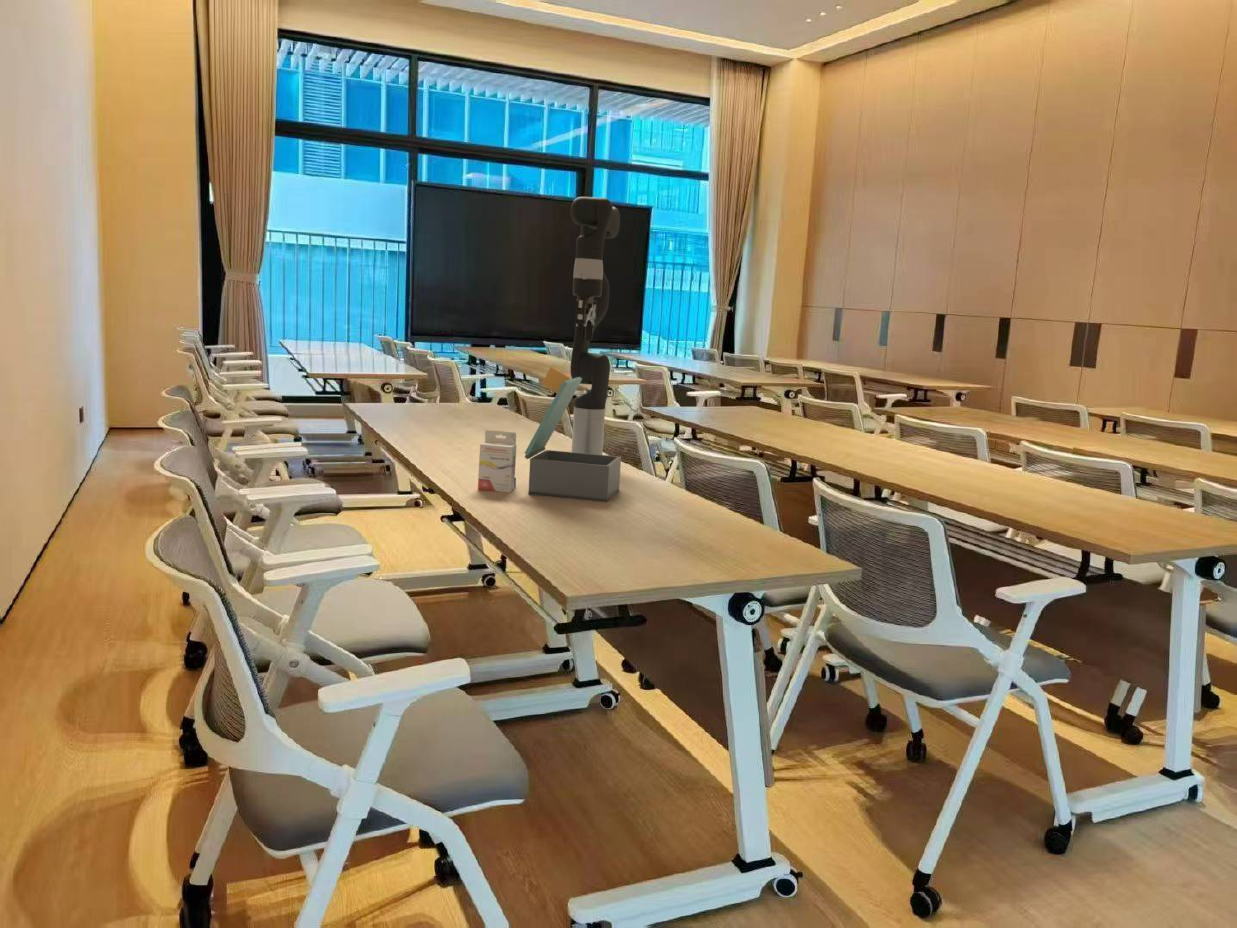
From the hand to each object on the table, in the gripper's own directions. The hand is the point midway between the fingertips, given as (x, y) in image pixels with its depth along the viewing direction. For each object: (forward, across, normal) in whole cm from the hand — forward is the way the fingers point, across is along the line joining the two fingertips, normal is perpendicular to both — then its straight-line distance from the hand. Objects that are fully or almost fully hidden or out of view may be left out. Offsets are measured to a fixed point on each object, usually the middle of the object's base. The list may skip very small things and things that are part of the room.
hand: (584, 341), depth 244 cm
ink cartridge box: (+38, +16, -17) cm, 45 cm away
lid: (+29, +10, -9) cm, 32 cm away
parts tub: (+38, +10, +2) cm, 39 cm away
